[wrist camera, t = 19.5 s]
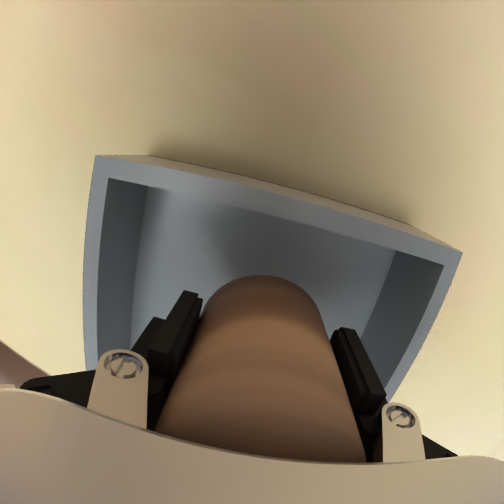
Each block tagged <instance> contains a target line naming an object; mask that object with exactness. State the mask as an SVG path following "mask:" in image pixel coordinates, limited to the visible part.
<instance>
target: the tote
mask: <svg viewBox="0 0 504 504" xmlns="http://www.w3.org/2000/svg"><path fill="white" fill-rule="evenodd" d="M462 253H463V252H461V251H459V250H457V249H455V248H453V247H452V246H450V245H448V244H446V243H444V242H442V241H440V240H438V239H436V238H434V237H433V236H431V235H429V234H427V233H425V232H423V231H421V230H419V229H417V228H415V227H413V226H411V225H409V224H406V223H403V222H400V221H397V220H394V219H391V218H388V217H385V216H382V215H379V214H376V213H373V212H370V211H367V210H364V209H361V208H357V207H354V206H351V205H348V204H345V203H341V202H338V201H335V200H331V199H328V198H325V197H321V196H318V195H314V194H311V193H307V192H304V191H300V190H296V189H293V188H289V187H285V186H282V185H278V184H274V183H270V182H266V181H262V180H258V179H254V178H250V177H246V176H242V175H238V174H234V173H230V172H225V171H221V170H216V169H212V168H208V167H203V166H198V165H194V164H189V163H184V162H179V161H174V160H169V159H164V158H159V157H154V156H148V155H96V156H95V161H94V167H93V173H92V180H91V187H90V194H89V202H88V211H87V220H86V231H85V244H84V262H83V334H84V351H85V364H86V371H89V370H95V369H97V365H98V361H99V359H100V357H101V356H102V355H103V354H104V353H106V352H108V351H111V350H116V349H124V350H129V351H130V350H131V349H132V347H133V346H134V344H135V343H136V341H137V340H138V338H139V337H140V335H141V334H142V332H143V331H144V330H145V328H146V327H147V325H148V324H149V322H150V321H151V319H152V318H153V317H158V318H162V319H165V320H166V318H167V316H168V315H169V313H170V311H171V310H172V308H173V307H174V305H175V303H176V302H177V300H178V299H179V297H180V295H181V294H182V292H183V291H184V290H187V291H191V292H194V293H198V294H199V295H198V298H202V299H203V303H202V308H201V313H202V311H203V308H204V306H205V304H206V303H207V301H208V300H209V298H210V297H211V296H212V295H213V294H214V293H215V292H216V291H217V290H218V289H219V288H220V287H222V286H224V285H225V284H227V283H229V282H231V281H233V280H235V279H238V278H241V277H245V276H251V275H270V276H276V277H280V278H283V279H286V280H288V281H290V282H293V283H295V284H296V285H298V286H299V287H301V288H302V289H303V290H304V291H306V292H307V293H308V294H309V296H310V297H311V298H312V299H313V301H314V302H315V304H316V305H317V307H318V310H319V312H320V315H321V318H322V321H323V323H324V326H325V329H326V332H327V335H328V338H329V341H330V339H331V336H332V334H333V332H334V330H339V328H340V327H345V328H350V329H355V330H356V332H357V334H358V336H359V338H360V340H361V342H362V344H363V346H364V348H365V350H366V352H367V354H368V356H369V358H370V360H371V362H372V365H373V367H374V369H375V371H376V373H377V375H378V377H379V379H380V381H381V383H382V385H383V388H384V390H385V392H386V394H387V396H386V397H385V398H386V400H387V402H388V403H389V401H390V400H391V398H392V397H393V395H394V393H395V392H396V390H397V389H398V387H399V385H400V384H401V382H402V380H403V379H404V377H405V375H406V374H407V372H408V370H409V369H410V367H411V365H412V363H413V361H414V360H415V358H416V356H417V354H418V352H419V350H420V349H421V347H422V345H423V343H424V341H425V339H426V337H427V335H428V333H429V331H430V329H431V327H432V325H433V323H434V321H435V319H436V317H437V314H438V312H439V310H440V308H441V306H442V303H443V301H444V299H445V297H446V294H447V292H448V289H449V287H450V285H451V282H452V280H453V277H454V275H455V272H456V269H457V267H458V264H459V261H460V259H461V256H462ZM201 313H200V315H201Z"/></svg>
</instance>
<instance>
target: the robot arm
mask: <svg viewBox="0 0 504 504" xmlns="http://www.w3.org/2000/svg"><path fill="white" fill-rule="evenodd" d="M198 295H199V294H198V293H194V292H191V291H187V290H184V291H183V292H182V294H181V295H180V297H179V299H178V300H177V302H176V303H175V305H174V307H173V308H172V310H171V311H170V313H169V315H168V316H167V318H166V320H165V319H162V318H158V317H153V318H152V319H151V321H150V322H149V324H148V325H147V327H146V328H145V330H144V331H143V332H142V334H141V335H140V337H139V338H138V340H137V341H136V343H135V344H134V346H133V347H132V349H131V350H130V351H129V350H124V349H116V350H111V351H108V352H106V353H104V354H103V355H102V356H101V357H100V359H99V361H98V365H97V369H95V370H89V371H83V372H76V373H70V374H63V375H55V376H48V377H40V378H34V379H30V380H28V381H27V382H25V383H24V384H23V385H22V386H21V387H20V388H14V385H13V384H0V504H504V462H503V461H500V460H498V459H495V458H490V457H486V456H472V455H471V456H458V455H457V454H455V453H453V452H451V451H449V450H448V449H446V448H444V447H442V446H441V445H439V444H437V443H436V442H434V441H432V440H430V439H429V438H427V437H425V436H424V435H422V433H421V428H420V422H419V419H418V416H417V415H416V413H415V412H414V411H413V410H412V409H410V408H409V407H407V406H405V405H403V404H400V403H395V402H393V403H388V402H387V400H386V398H385V397H386V396H387V394H386V392H385V390H384V388H383V385H382V383H381V381H380V379H379V377H378V375H377V373H376V371H375V369H374V367H373V365H372V362H371V360H370V358H369V356H368V354H367V352H366V350H365V348H364V346H363V344H362V342H361V340H360V338H359V336H358V334H357V332H356V330H355V329H350V328H345V327H340V328H339V330H334V332H333V334H332V336H331V339H330V344H331V347H332V350H333V353H334V356H335V359H336V362H337V365H338V368H339V371H340V374H341V377H342V380H343V383H344V386H345V389H346V392H347V396H348V399H349V402H350V405H351V408H352V412H353V415H354V418H355V421H356V425H357V428H358V431H359V435H360V438H361V441H362V445H363V448H364V452H365V457H366V463H342V462H319V461H305V460H294V459H284V458H275V457H268V456H261V455H254V454H248V453H242V452H236V451H231V450H226V449H221V448H216V447H211V446H207V445H202V444H198V443H194V442H190V441H186V440H182V439H178V438H175V437H171V436H168V435H164V434H161V433H158V432H154V430H155V428H156V425H157V422H158V420H159V417H160V415H161V412H162V410H163V407H164V404H165V402H166V399H167V397H168V394H169V392H170V390H171V387H172V385H173V383H174V380H175V378H176V375H177V373H178V370H179V368H180V365H181V363H182V360H183V358H184V355H185V353H186V350H187V348H188V345H189V343H190V340H191V338H192V336H193V333H194V331H195V328H196V326H197V323H198V321H199V318H200V313H201V308H202V303H203V299H202V298H198Z"/></svg>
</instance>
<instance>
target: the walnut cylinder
mask: <svg viewBox="0 0 504 504" xmlns="http://www.w3.org/2000/svg"><path fill="white" fill-rule="evenodd" d="M154 432H158V433H161V434H164V435H168V436H171V437H175V438H178V439H182V440H186V441H190V442H194V443H198V444H202V445H207V446H211V447H216V448H221V449H226V450H231V451H236V452H242V453H248V454H254V455H261V456H268V457H275V458H284V459H294V460H305V461H319V462H342V463H366V457H365V452H364V448H363V445H362V441H361V438H360V435H359V431H358V428H357V425H356V421H355V418H354V415H353V412H352V408H351V405H350V402H349V399H348V396H347V392H346V389H345V386H344V383H343V380H342V377H341V374H340V371H339V368H338V365H337V362H336V359H335V356H334V353H333V350H332V347H331V344H330V341H329V338H328V335H327V332H326V329H325V326H324V323H323V321H322V318H321V315H320V312H319V310H318V307H317V305H316V304H315V302H314V301H313V299H312V298H311V297H310V296H309V294H308V293H307V292H306V291H304V290H303V289H302V288H301V287H299V286H298V285H296V284H295V283H293V282H290V281H288V280H286V279H283V278H280V277H276V276H270V275H251V276H245V277H241V278H238V279H235V280H233V281H231V282H229V283H227V284H225V285H224V286H222V287H220V288H219V289H218V290H217V291H216V292H215V293H214V294H213V295H212V296H211V297H210V298H209V300H208V301H207V303H206V304H205V306H204V308H203V311H202V313H201V315H200V318H199V321H198V323H197V326H196V328H195V331H194V333H193V336H192V338H191V340H190V343H189V345H188V348H187V350H186V353H185V355H184V358H183V360H182V363H181V365H180V368H179V370H178V373H177V375H176V378H175V380H174V383H173V385H172V387H171V390H170V392H169V394H168V397H167V399H166V402H165V404H164V407H163V410H162V412H161V415H160V417H159V420H158V422H157V425H156V428H155V430H154Z"/></svg>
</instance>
